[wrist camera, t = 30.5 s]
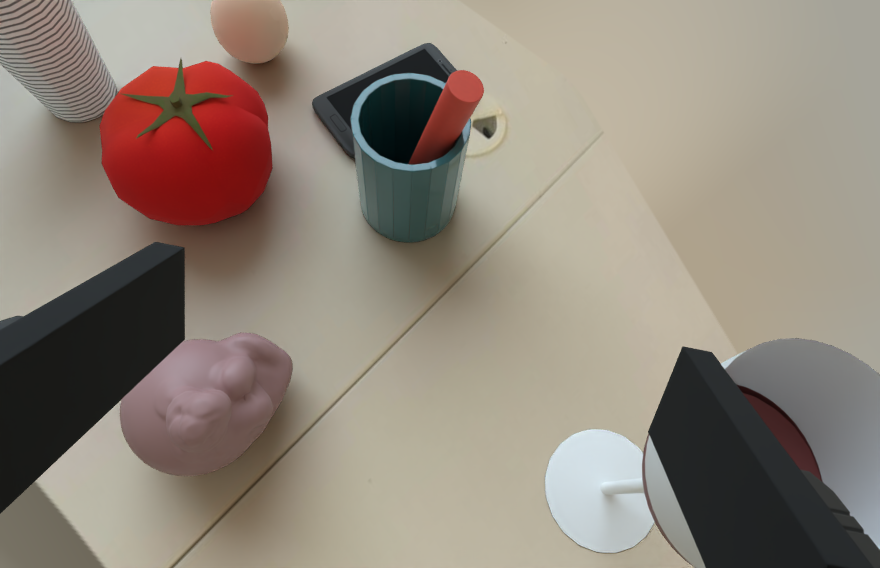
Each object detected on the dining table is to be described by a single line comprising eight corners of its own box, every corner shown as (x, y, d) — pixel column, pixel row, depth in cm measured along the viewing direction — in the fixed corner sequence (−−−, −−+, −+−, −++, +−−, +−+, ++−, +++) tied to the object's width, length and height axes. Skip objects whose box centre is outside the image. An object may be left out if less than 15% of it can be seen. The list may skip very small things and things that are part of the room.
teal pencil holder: (470, 182, 50) (489, 100, 40) (430, 258, 47) (440, 190, 37) (387, 146, 51) (385, 56, 41) (343, 218, 48) (328, 140, 38)
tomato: (241, 268, 46) (198, 203, 36) (106, 217, 46) (28, 140, 37) (311, 144, 51) (290, 57, 41) (188, 100, 51) (139, 4, 42)
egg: (253, 17, 56) (231, -57, 48) (308, 46, 55) (294, -25, 47) (209, 59, 53) (180, -12, 46) (266, 91, 52) (244, 23, 45)
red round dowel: (426, 192, 49) (489, 83, 35) (414, 212, 48) (475, 109, 34) (402, 178, 49) (457, 63, 35) (390, 198, 48) (441, 88, 34)
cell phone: (309, 105, 52) (308, 100, 51) (430, 45, 56) (431, 39, 55) (351, 161, 50) (351, 156, 49) (474, 95, 54) (475, 89, 53)
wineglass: (533, 549, 39) (696, 601, 18) (550, 409, 43) (700, 316, 22) (659, 575, 39) (971, 659, 18) (665, 433, 43) (928, 364, 22)
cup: (130, 54, 53) (30, -114, 38) (135, 127, 50) (29, -26, 35) (33, 67, 51) (-108, -103, 37) (32, 142, 48) (-121, -11, 34)
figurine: (326, 407, 42) (300, 373, 31) (192, 506, 39) (110, 506, 28) (263, 318, 44) (218, 256, 33) (131, 404, 41) (33, 367, 30)
